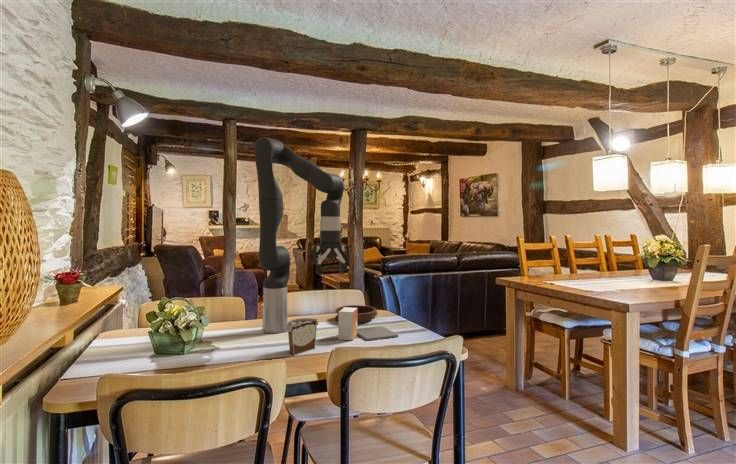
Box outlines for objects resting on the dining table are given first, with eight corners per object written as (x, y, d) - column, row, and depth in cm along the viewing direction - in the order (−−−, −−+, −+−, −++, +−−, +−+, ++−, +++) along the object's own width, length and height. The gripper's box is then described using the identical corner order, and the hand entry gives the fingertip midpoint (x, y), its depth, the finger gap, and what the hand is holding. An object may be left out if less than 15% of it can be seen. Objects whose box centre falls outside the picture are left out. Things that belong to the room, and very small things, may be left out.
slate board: (366, 340, 154) (366, 338, 154) (352, 331, 167) (352, 329, 167) (398, 337, 159) (398, 334, 159) (382, 328, 172) (382, 326, 172)
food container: (305, 344, 149) (305, 316, 149) (318, 347, 145) (318, 318, 145) (278, 352, 140) (277, 322, 139) (290, 356, 136) (290, 325, 135)
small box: (352, 340, 154) (353, 312, 153) (338, 339, 155) (338, 311, 155) (357, 334, 162) (357, 307, 161) (343, 334, 163) (343, 306, 162)
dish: (323, 320, 185) (323, 308, 185) (363, 313, 199) (363, 302, 199) (347, 328, 172) (347, 316, 172) (388, 320, 186) (388, 309, 186)
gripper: (344, 228, 159) (344, 271, 160) (308, 229, 153) (308, 274, 153) (352, 229, 153) (352, 274, 153) (315, 229, 146) (315, 276, 147)
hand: (330, 274), depth 153 cm, fingers open, 8 cm apart
